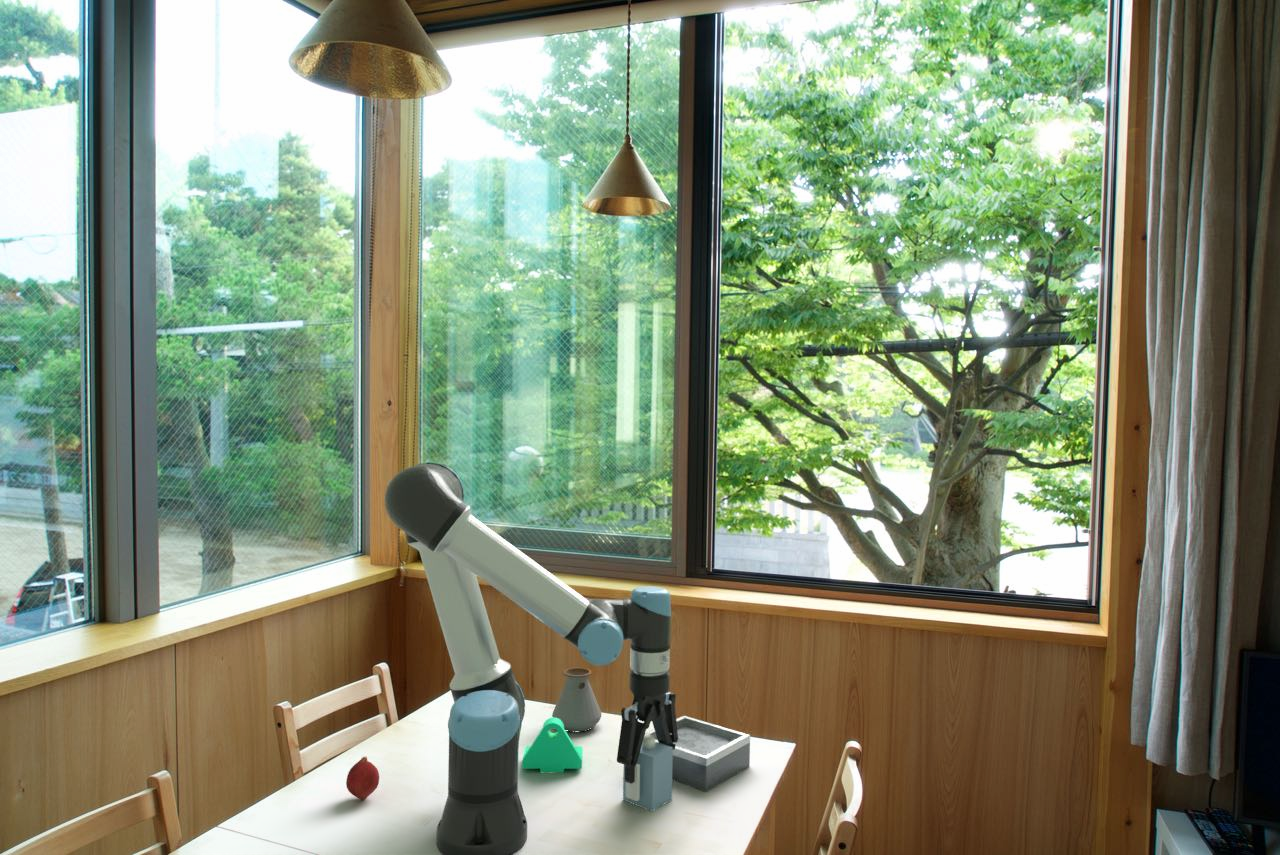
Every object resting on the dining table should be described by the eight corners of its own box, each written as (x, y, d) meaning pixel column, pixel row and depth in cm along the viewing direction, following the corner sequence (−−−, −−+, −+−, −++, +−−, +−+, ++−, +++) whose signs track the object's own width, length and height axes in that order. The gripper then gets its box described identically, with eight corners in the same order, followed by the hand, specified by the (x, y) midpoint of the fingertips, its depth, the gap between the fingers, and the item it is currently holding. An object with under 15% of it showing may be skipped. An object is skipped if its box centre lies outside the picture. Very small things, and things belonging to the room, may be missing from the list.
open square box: (705, 792, 160) (706, 758, 160) (637, 767, 171) (638, 736, 171) (749, 766, 172) (750, 735, 172) (683, 744, 183) (683, 715, 183)
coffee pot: (551, 718, 198) (552, 655, 198) (598, 716, 199) (600, 654, 199) (554, 754, 177) (556, 684, 177) (608, 752, 178) (609, 682, 178)
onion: (344, 808, 151) (345, 764, 151) (347, 794, 156) (347, 751, 156) (378, 804, 152) (379, 761, 152) (379, 791, 158) (380, 749, 158)
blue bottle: (652, 811, 152) (653, 746, 152) (623, 799, 156) (624, 736, 156) (671, 800, 156) (672, 736, 156) (642, 789, 161) (644, 727, 161)
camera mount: (582, 758, 175) (583, 710, 175) (581, 773, 168) (582, 723, 168) (525, 758, 175) (526, 709, 175) (522, 773, 167) (523, 723, 167)
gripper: (629, 688, 146) (627, 816, 146) (698, 662, 162) (696, 777, 162) (597, 679, 150) (595, 803, 150) (667, 654, 167) (665, 767, 167)
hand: (647, 790), depth 156 cm, fingers open, 8 cm apart
